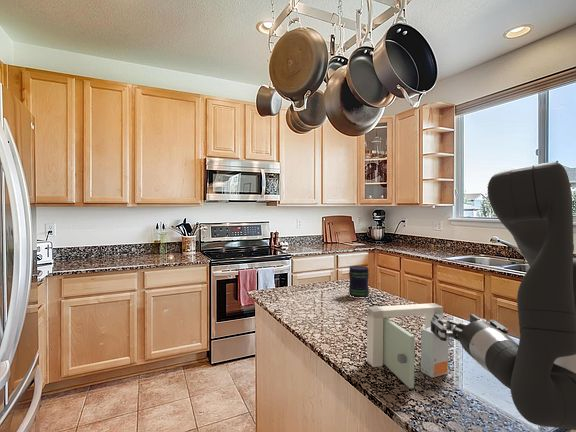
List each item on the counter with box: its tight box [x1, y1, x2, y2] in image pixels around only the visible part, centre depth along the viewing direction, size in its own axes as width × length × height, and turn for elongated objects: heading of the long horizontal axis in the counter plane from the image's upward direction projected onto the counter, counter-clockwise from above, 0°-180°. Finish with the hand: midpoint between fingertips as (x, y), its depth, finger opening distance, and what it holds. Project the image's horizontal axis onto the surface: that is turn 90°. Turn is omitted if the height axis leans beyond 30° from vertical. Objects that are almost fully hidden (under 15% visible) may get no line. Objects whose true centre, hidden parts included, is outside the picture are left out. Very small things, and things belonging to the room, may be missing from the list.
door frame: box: [366, 302, 444, 368], centre depth 97 cm, size 22×4×16 cm, turn 102°
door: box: [383, 317, 416, 389], centre depth 89 cm, size 16×3×13 cm, turn 12°
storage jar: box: [348, 265, 370, 298], centre depth 168 cm, size 10×10×15 cm
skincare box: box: [420, 327, 450, 379], centre depth 90 cm, size 6×4×12 cm
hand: (453, 318), depth 79 cm, fingers open, 8 cm apart
